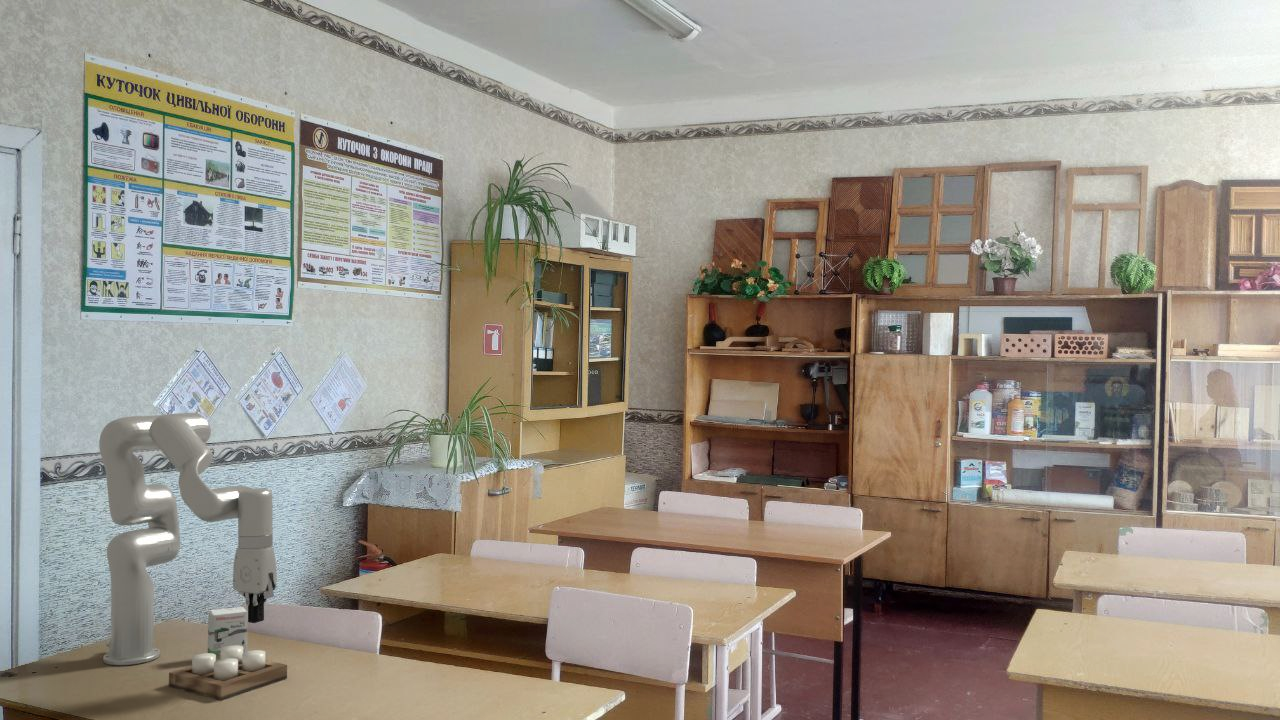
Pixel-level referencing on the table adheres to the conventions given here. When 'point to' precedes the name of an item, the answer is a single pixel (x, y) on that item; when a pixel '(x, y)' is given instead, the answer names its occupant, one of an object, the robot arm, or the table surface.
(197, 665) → the button
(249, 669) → the button
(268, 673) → the button board
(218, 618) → the ink box
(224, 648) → the button
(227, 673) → the button
